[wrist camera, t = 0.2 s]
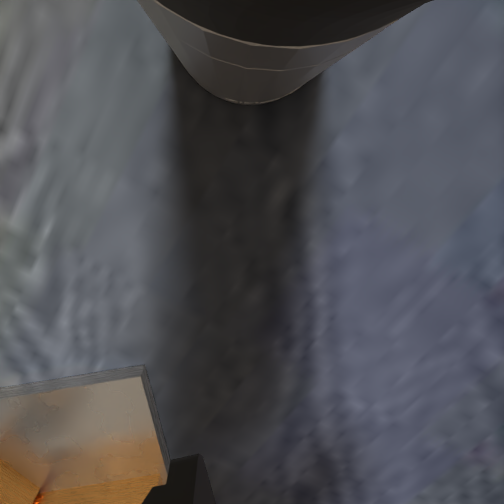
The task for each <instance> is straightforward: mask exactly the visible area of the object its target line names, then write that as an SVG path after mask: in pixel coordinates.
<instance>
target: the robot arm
mask: <svg viewBox="0 0 504 504" xmlns="http://www.w3.org/2000/svg"><path fill="white" fill-rule="evenodd" d="M137 1H138V2H139V4H140V5H141V7H142V8H143V9H144V11H145V12H146V14H147V15H148V16H149V18H150V19H151V21H152V22H153V23H154V25H155V26H156V28H157V29H158V30H159V32H160V33H161V35H162V36H163V37H164V39H165V40H166V42H167V43H168V44H169V46H170V47H171V49H172V50H173V52H174V53H175V55H176V56H177V57H178V59H179V60H180V62H181V63H182V65H183V66H184V67H185V69H186V70H187V71H188V73H189V74H190V75H191V76H192V77H193V78H194V79H195V80H196V82H197V83H198V84H199V85H200V86H201V87H203V88H204V89H206V90H207V91H208V92H210V93H211V94H213V95H214V96H216V97H219V98H221V99H223V100H226V101H228V102H232V103H237V104H243V105H257V104H264V103H268V102H272V101H275V100H278V99H281V98H283V97H285V96H287V95H289V94H291V93H292V92H294V91H295V90H297V89H299V88H300V87H301V86H302V85H304V84H305V83H306V82H308V81H309V80H311V79H312V78H314V77H315V76H317V75H318V74H320V73H321V72H323V71H324V70H325V69H327V68H328V67H330V66H331V65H333V64H334V63H336V62H337V61H339V60H340V59H342V58H343V57H345V56H346V55H347V54H349V53H350V52H352V51H353V50H355V49H356V48H358V47H359V46H361V45H362V44H364V43H365V42H367V41H368V40H369V39H371V38H372V37H374V36H375V35H377V34H378V33H380V32H381V31H383V30H384V29H385V28H387V27H388V26H390V25H391V24H393V23H394V22H395V21H397V20H398V19H400V18H401V17H403V16H405V15H406V14H408V13H410V12H411V11H413V10H415V9H416V8H418V7H420V6H421V5H423V4H424V3H427V2H430V1H433V0H137ZM142 504H216V503H215V499H214V496H213V492H212V489H211V485H210V481H209V478H208V474H207V470H206V467H205V463H204V460H203V457H202V455H201V454H196V455H191V456H187V457H182V458H178V459H173V460H171V462H170V466H169V471H168V476H167V481H166V484H164V485H160V486H155V487H152V488H151V490H150V492H149V493H148V495H147V496H146V498H145V499H144V501H143V502H142Z"/></svg>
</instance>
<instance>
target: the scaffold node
mask: <svg viewBox="0 0 504 504" xmlns="http://www.w3.org/2000/svg"><path fill="white" fill-rule="evenodd" d="M170 462H171V461H170V457H169V453H168V449H167V446H166V442H165V438H164V434H163V431H162V427H161V423H160V419H159V416H158V412H157V408H156V404H155V400H154V397H153V393H152V389H151V385H150V382H149V378H148V374H147V370H146V367H145V365H139V366H132V367H126V368H120V369H114V370H108V371H101V372H95V373H89V374H83V375H77V376H70V377H64V378H58V379H52V380H46V381H39V382H33V383H27V384H21V385H15V386H8V387H2V388H0V504H142V502H143V501H144V499H145V498H146V496H147V495H148V493H149V492H150V490H151V488H152V487H155V486H160V485H164V484H166V481H167V476H168V471H169V466H170Z"/></svg>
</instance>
